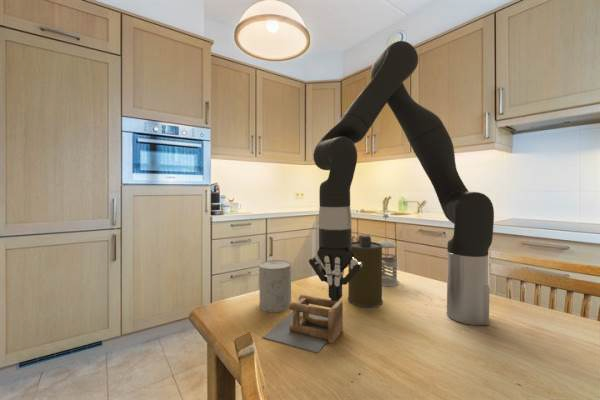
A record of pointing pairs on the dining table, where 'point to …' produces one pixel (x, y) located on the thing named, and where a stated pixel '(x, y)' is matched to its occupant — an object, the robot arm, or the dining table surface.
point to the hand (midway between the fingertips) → (335, 300)
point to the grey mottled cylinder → (275, 285)
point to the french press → (389, 262)
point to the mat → (296, 335)
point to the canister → (366, 273)
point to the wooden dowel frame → (332, 314)
